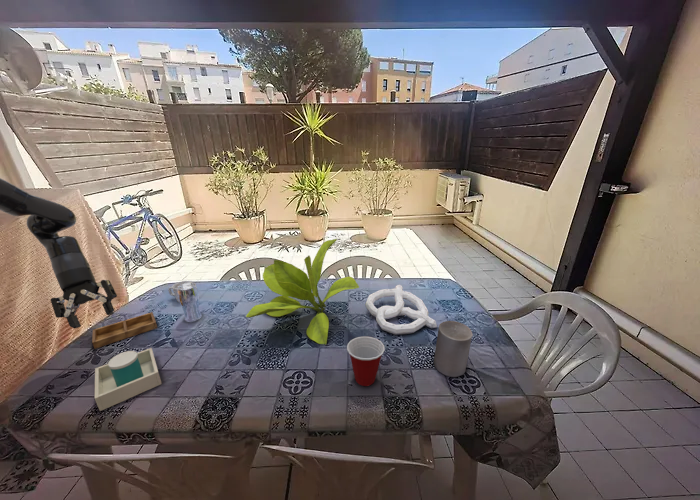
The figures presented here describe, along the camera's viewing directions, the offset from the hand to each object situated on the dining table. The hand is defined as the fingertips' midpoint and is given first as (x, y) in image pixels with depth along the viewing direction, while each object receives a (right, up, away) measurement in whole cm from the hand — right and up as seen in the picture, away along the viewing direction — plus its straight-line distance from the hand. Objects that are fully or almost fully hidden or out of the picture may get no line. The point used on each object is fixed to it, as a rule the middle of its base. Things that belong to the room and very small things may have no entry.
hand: (94, 320), depth 80 cm
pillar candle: (+108, -16, +6) cm, 109 cm away
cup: (-1, -2, +44) cm, 44 cm away
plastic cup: (+80, -18, +1) cm, 82 cm away
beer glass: (+12, -7, +30) cm, 33 cm away
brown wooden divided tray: (-7, -10, +21) cm, 25 cm away
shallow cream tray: (+12, -18, -1) cm, 21 cm away
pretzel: (+96, -7, +33) cm, 102 cm away
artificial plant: (+57, -7, +31) cm, 65 cm away
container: (+12, -17, -1) cm, 21 cm away
